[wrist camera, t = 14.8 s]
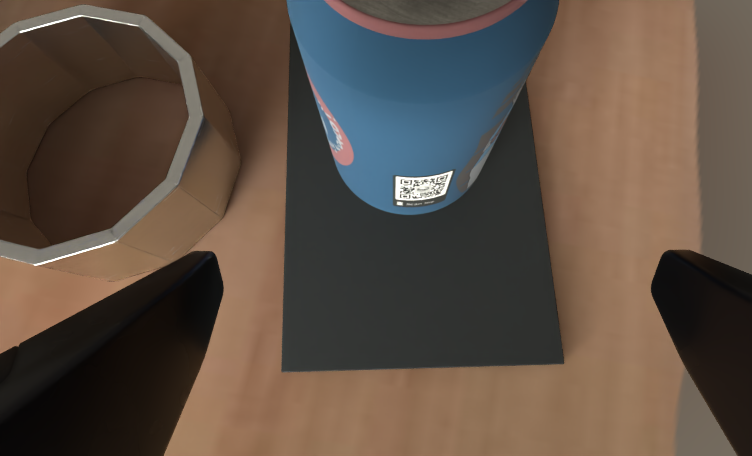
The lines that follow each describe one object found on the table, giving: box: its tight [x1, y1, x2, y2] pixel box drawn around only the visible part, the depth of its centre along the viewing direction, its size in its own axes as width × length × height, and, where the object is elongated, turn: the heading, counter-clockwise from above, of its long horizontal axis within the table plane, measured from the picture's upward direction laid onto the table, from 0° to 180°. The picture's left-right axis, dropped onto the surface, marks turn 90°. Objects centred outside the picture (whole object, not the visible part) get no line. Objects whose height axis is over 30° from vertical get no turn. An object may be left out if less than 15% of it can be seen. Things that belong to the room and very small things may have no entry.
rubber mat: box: [281, 24, 564, 372], centre depth 21 cm, size 20×12×1 cm, turn 2°
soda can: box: [287, 0, 559, 215], centre depth 15 cm, size 7×7×12 cm
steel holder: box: [0, 4, 241, 282], centre depth 19 cm, size 11×11×4 cm
